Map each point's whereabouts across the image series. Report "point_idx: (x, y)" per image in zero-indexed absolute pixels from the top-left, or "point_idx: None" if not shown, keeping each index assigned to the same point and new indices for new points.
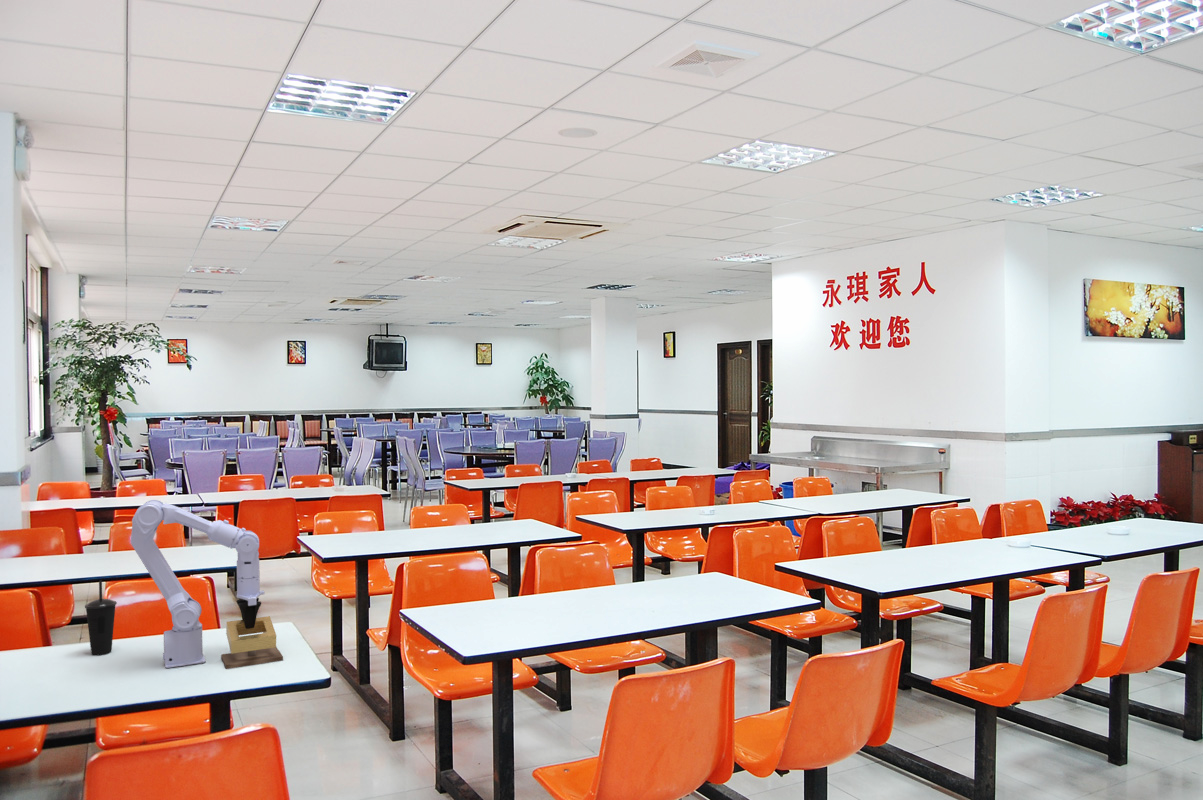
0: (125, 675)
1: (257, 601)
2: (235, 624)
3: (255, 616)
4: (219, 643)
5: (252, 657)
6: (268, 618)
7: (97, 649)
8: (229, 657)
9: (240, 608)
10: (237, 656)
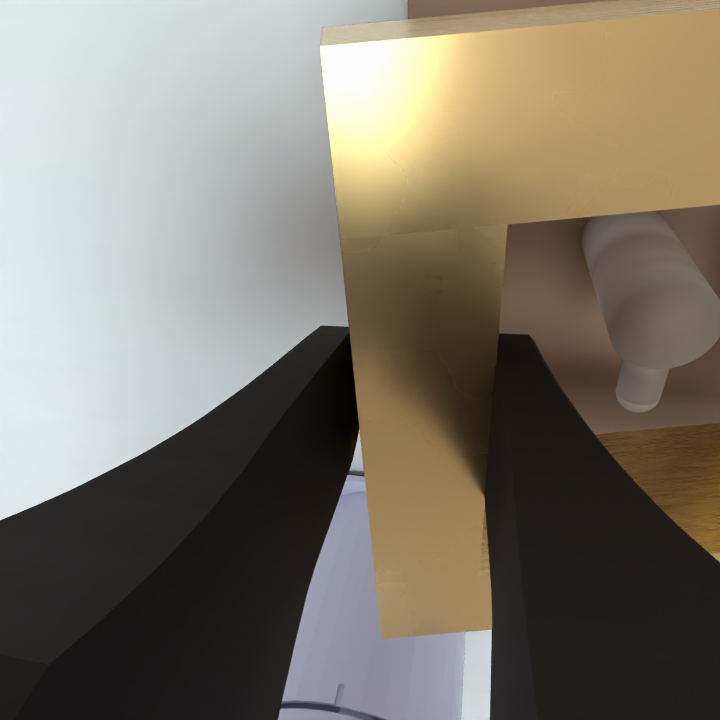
0: (470, 696)
1: (116, 631)
2: (486, 574)
3: (606, 461)
4: (42, 353)
5: (708, 240)
6: (440, 92)
7: None
8: None
9: (278, 705)
10: (560, 343)
